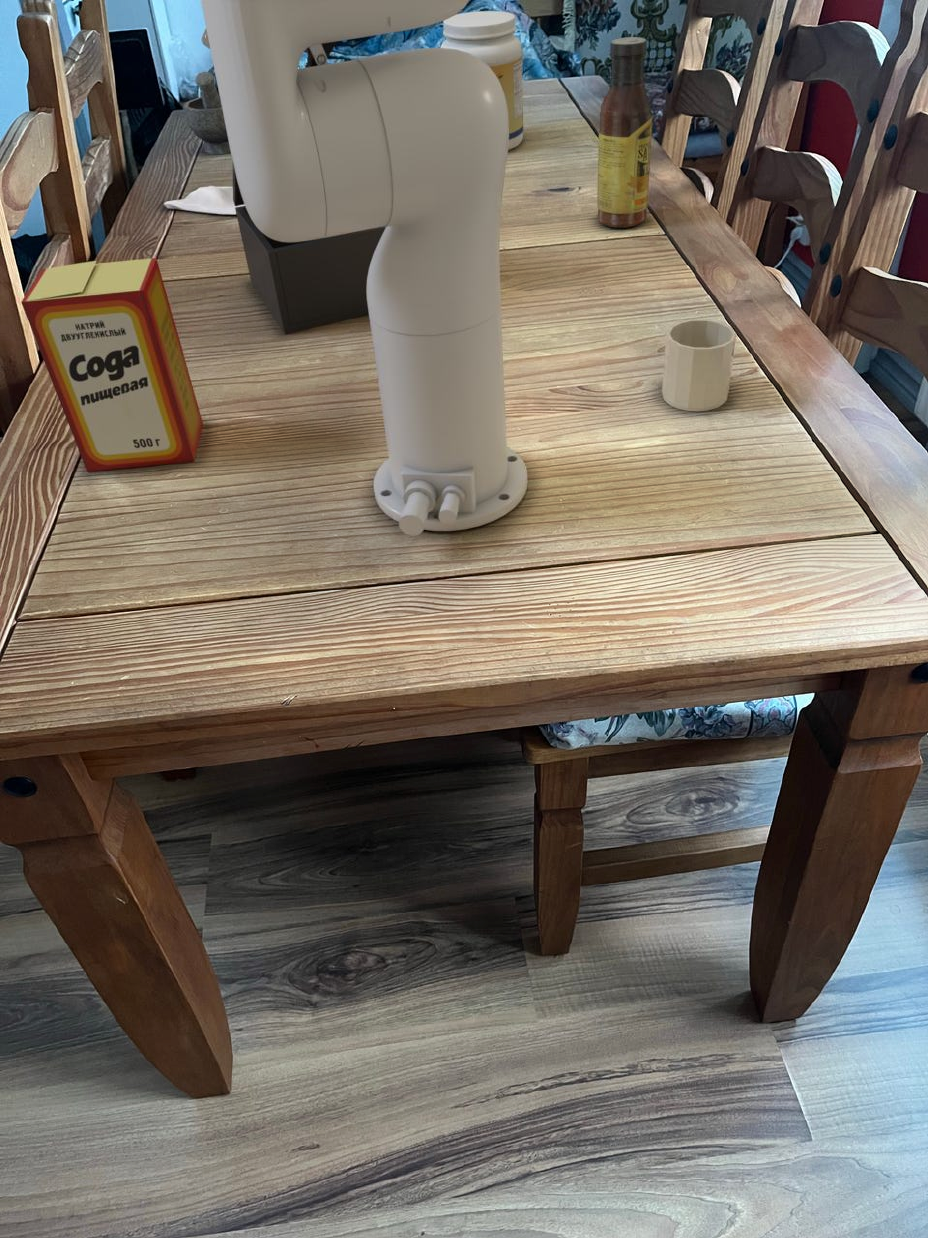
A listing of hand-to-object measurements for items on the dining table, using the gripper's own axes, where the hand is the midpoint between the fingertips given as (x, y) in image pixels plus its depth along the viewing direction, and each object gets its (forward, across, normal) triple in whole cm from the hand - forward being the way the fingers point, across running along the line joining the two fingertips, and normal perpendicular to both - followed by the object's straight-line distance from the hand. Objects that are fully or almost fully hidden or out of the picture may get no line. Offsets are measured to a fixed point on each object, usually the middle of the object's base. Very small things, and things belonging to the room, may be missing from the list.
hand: (291, 111), depth 98 cm
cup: (+20, +24, -41) cm, 51 cm away
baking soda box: (+20, -24, -25) cm, 40 cm away
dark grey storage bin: (+19, 0, -1) cm, 19 cm away
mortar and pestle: (+18, +2, +64) cm, 66 cm away
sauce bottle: (+19, +40, +1) cm, 44 cm away
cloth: (+19, 0, +36) cm, 41 cm away
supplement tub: (+18, +38, +40) cm, 59 cm away
